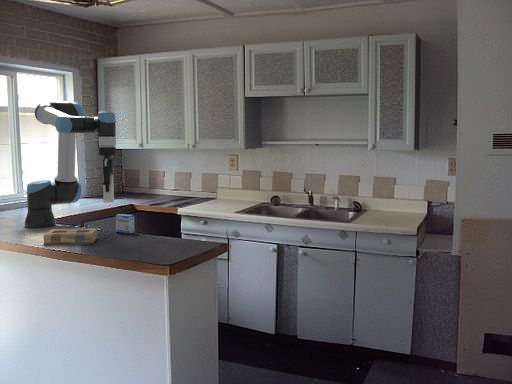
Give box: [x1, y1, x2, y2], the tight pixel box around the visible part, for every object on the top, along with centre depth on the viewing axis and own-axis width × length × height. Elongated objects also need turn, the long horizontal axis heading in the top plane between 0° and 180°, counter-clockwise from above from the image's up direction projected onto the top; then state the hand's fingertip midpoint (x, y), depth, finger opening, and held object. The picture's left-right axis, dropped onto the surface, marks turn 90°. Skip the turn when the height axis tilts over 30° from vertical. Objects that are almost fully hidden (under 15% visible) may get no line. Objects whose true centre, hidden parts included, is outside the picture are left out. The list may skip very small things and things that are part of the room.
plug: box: [102, 172, 115, 203], centre depth 239 cm, size 4×4×13 cm
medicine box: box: [115, 213, 135, 234], centre depth 256 cm, size 8×4×9 cm, turn 70°
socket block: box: [43, 227, 98, 246], centre depth 234 cm, size 14×20×5 cm
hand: (108, 198), depth 239 cm, fingers closed on plug, 4 cm apart
